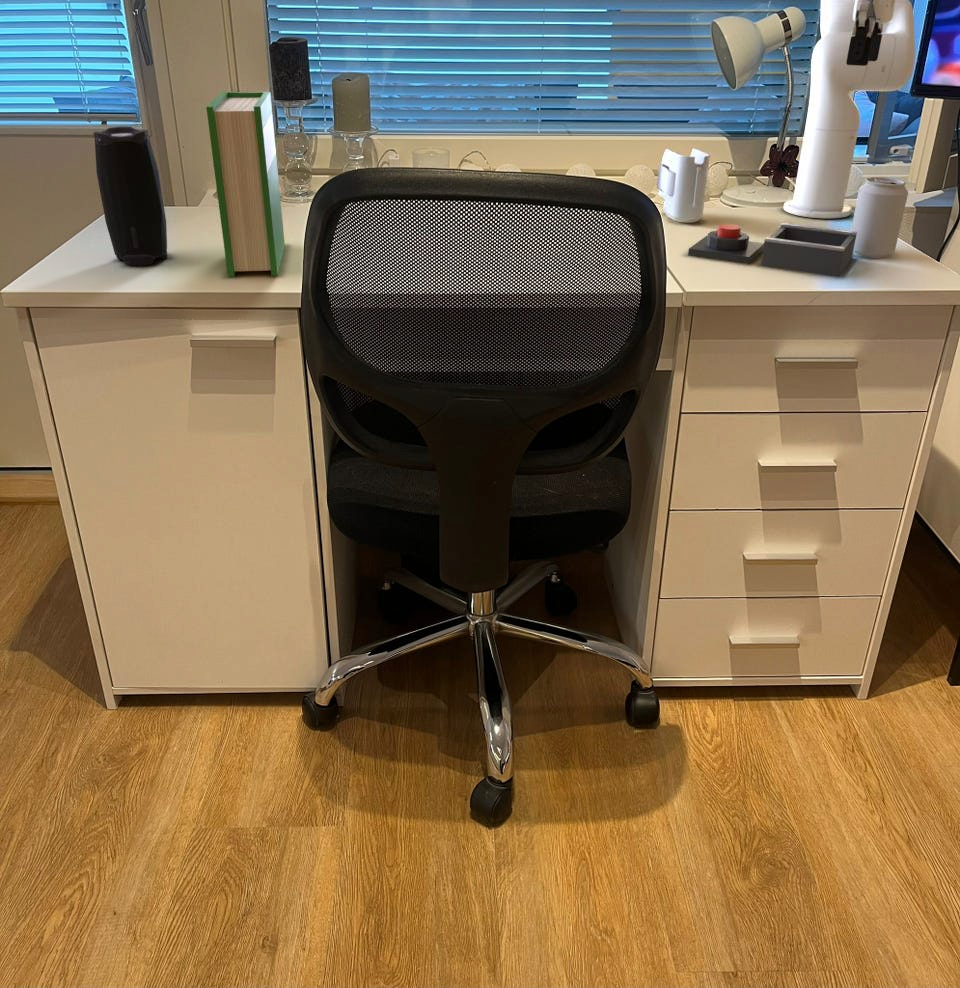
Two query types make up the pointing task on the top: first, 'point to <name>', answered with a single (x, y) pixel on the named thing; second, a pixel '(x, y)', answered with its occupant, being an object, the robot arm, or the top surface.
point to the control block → (726, 248)
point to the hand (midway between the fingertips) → (861, 62)
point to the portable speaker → (131, 195)
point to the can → (878, 216)
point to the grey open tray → (809, 249)
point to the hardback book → (247, 180)
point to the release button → (729, 231)
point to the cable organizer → (683, 184)
